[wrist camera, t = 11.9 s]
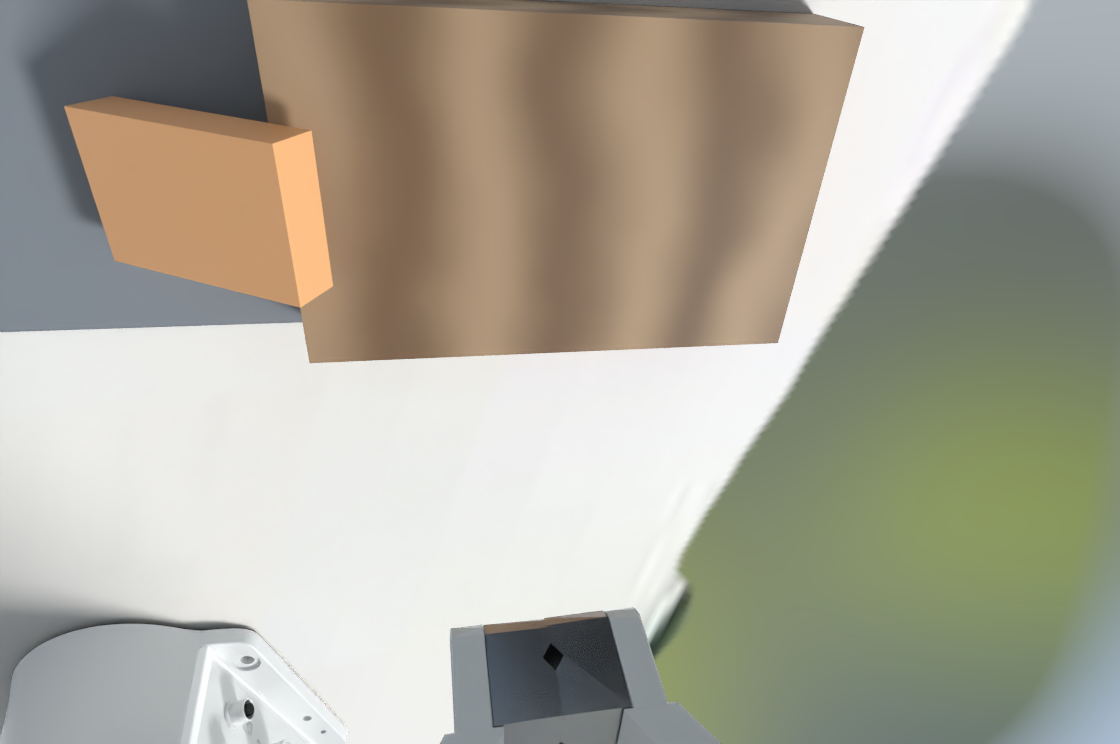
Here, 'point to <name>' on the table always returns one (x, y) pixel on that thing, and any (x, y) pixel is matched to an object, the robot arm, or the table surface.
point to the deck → (554, 169)
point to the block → (206, 196)
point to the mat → (57, 170)
